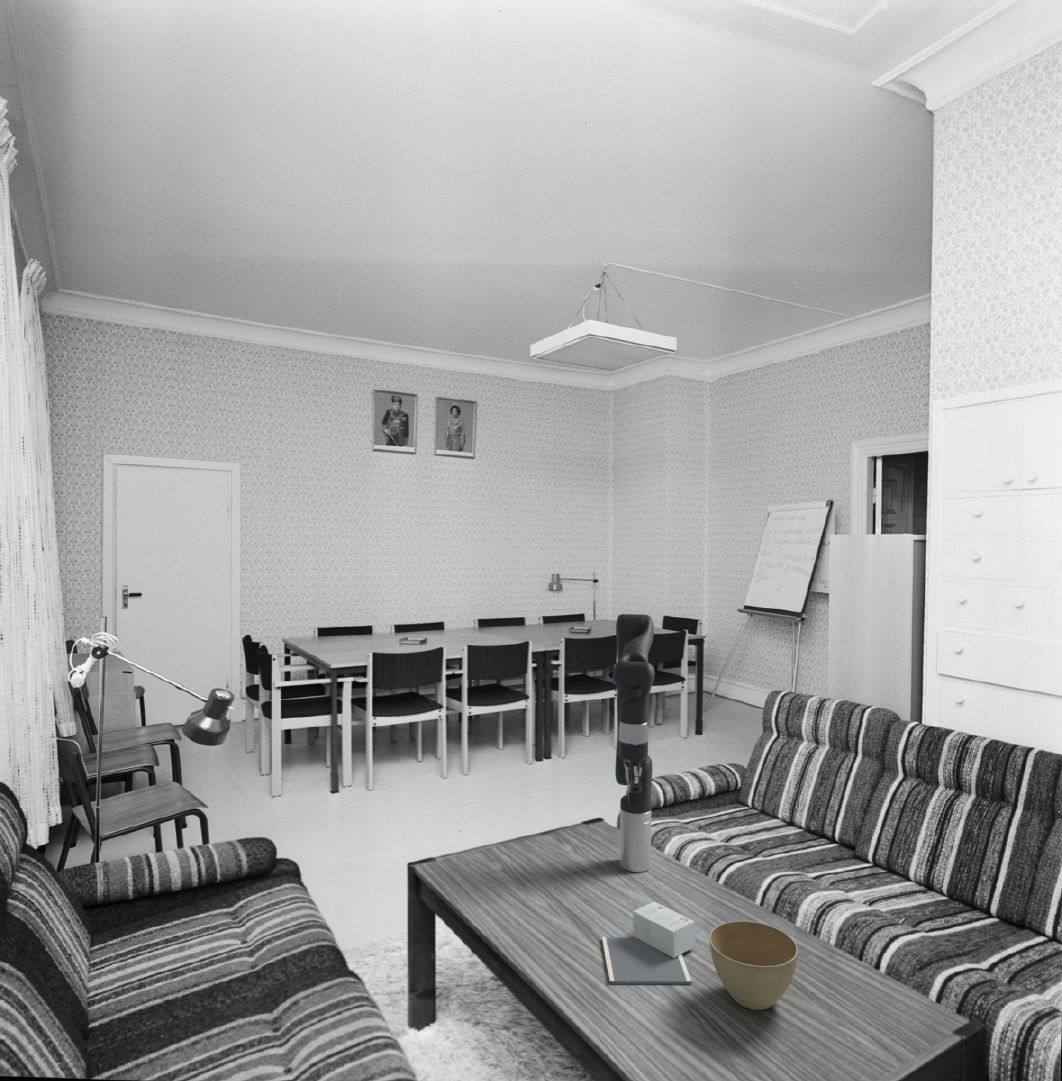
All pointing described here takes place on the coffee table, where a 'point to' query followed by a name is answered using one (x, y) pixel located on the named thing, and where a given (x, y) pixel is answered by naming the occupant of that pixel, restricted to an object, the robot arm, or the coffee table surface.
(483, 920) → the coffee table surface
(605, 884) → the coffee table surface
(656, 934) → the small box
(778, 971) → the beige round bowl
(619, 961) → the mat
